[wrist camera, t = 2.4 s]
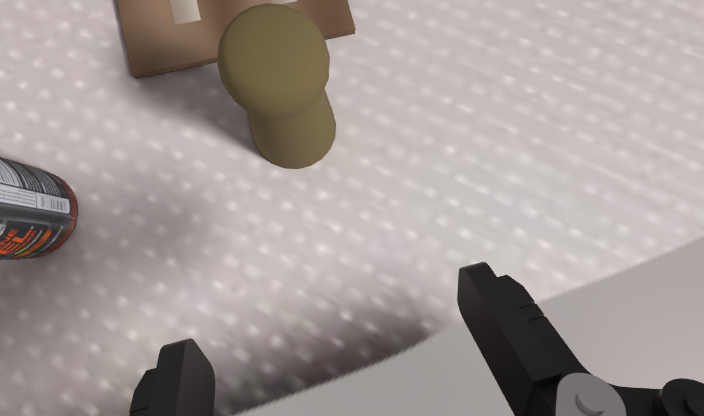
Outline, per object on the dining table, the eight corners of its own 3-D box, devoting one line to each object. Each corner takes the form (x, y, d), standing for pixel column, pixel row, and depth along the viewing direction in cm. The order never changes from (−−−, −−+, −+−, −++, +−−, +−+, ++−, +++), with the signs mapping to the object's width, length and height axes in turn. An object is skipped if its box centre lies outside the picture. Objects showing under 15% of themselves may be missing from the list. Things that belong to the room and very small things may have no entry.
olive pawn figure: (233, 123, 27) (167, 35, 16) (297, 70, 28) (276, -48, 17) (289, 186, 27) (261, 139, 16) (353, 131, 28) (368, 50, 17)
